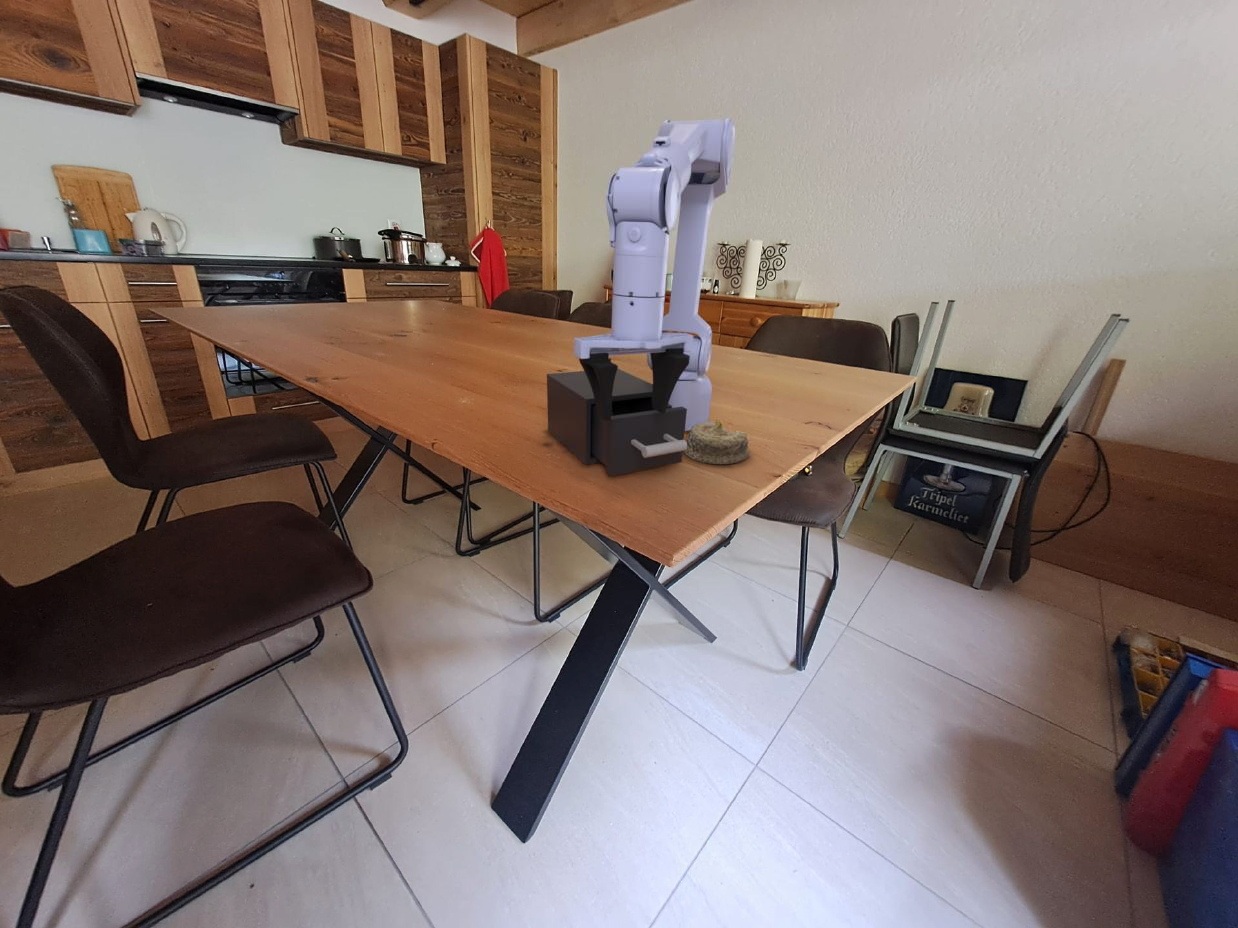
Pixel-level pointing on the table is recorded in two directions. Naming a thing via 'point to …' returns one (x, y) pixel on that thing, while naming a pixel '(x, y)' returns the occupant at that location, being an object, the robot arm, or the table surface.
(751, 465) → the table surface
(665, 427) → the drawer
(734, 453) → the beige textured round mound
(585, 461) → the cabinet
